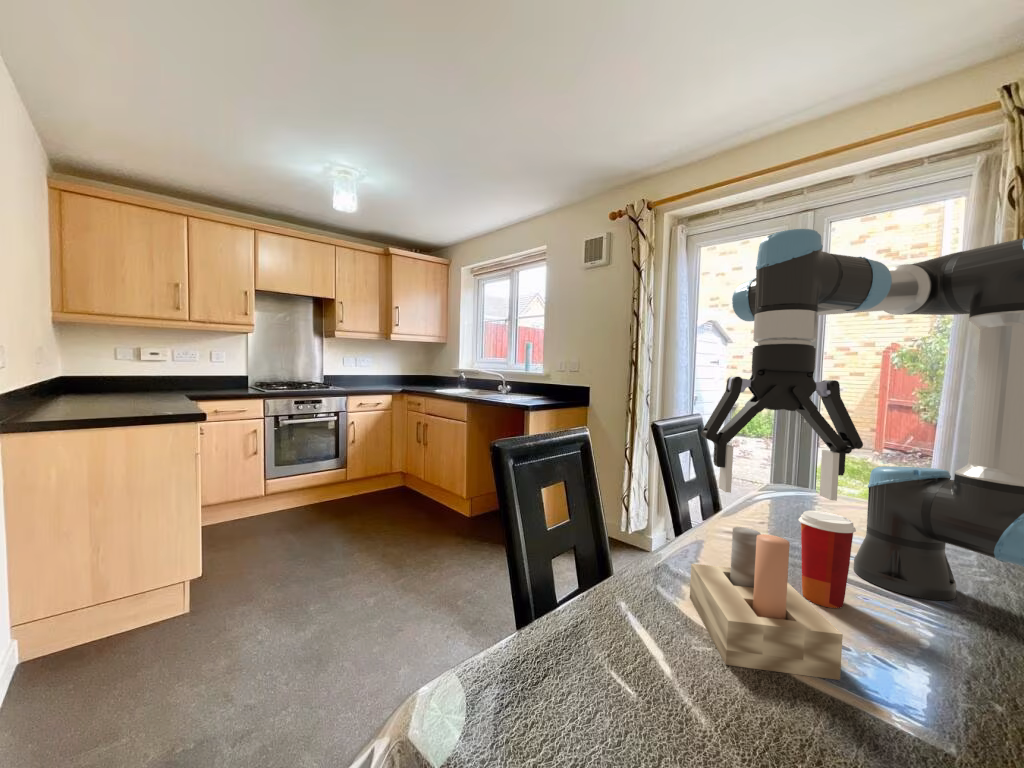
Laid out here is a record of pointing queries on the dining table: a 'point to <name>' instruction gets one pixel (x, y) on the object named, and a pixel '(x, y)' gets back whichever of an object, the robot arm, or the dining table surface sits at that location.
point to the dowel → (771, 576)
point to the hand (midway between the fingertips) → (775, 494)
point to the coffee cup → (825, 557)
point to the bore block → (762, 619)
